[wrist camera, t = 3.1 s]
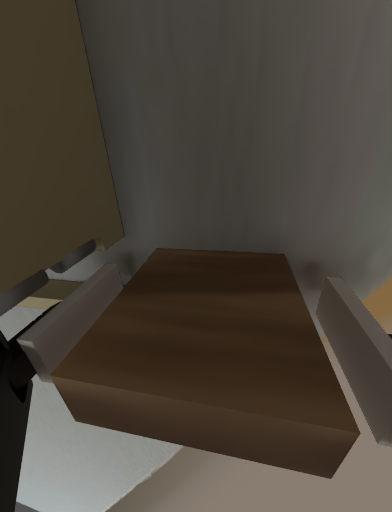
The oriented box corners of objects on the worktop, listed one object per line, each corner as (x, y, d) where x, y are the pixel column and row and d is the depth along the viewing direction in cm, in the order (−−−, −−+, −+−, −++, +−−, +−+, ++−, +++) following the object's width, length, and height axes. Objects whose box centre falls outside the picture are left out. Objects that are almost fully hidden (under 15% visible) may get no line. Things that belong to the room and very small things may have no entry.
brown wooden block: (157, 248, 15) (49, 375, 7) (284, 253, 14) (360, 433, 5) (162, 291, 17) (84, 436, 9) (275, 301, 16) (321, 492, 7)
